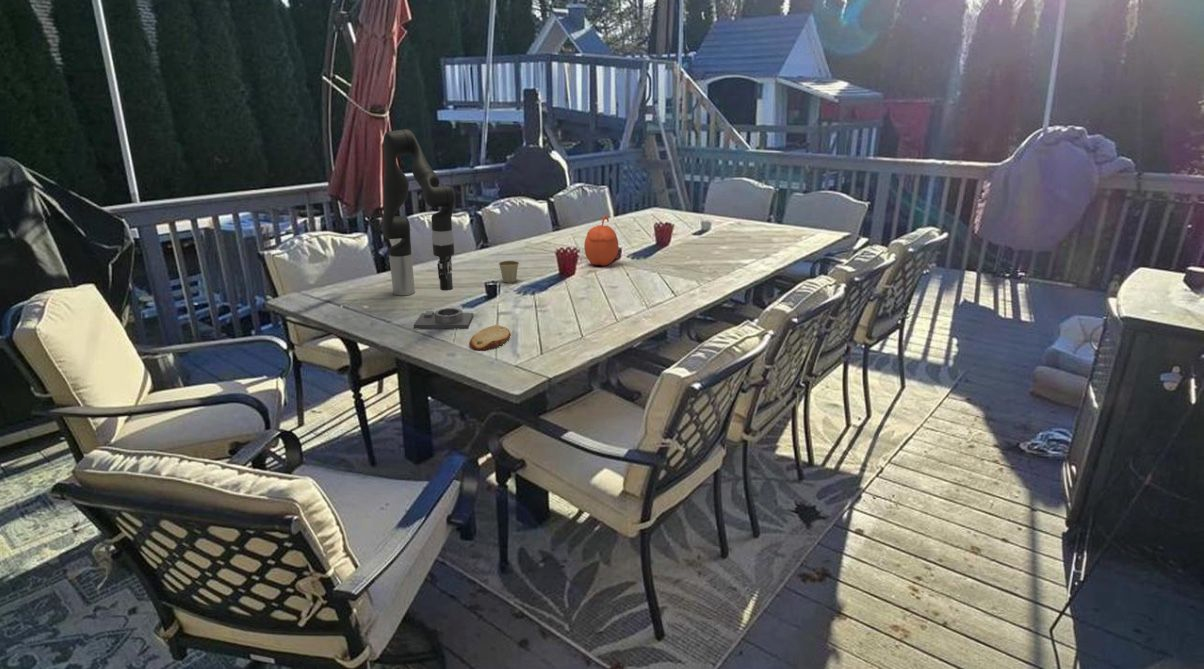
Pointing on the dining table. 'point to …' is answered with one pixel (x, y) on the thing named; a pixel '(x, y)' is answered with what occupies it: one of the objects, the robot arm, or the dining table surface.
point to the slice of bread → (490, 338)
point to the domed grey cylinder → (449, 281)
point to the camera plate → (429, 322)
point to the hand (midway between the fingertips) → (446, 286)
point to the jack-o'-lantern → (601, 244)
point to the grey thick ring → (448, 316)
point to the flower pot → (509, 270)
